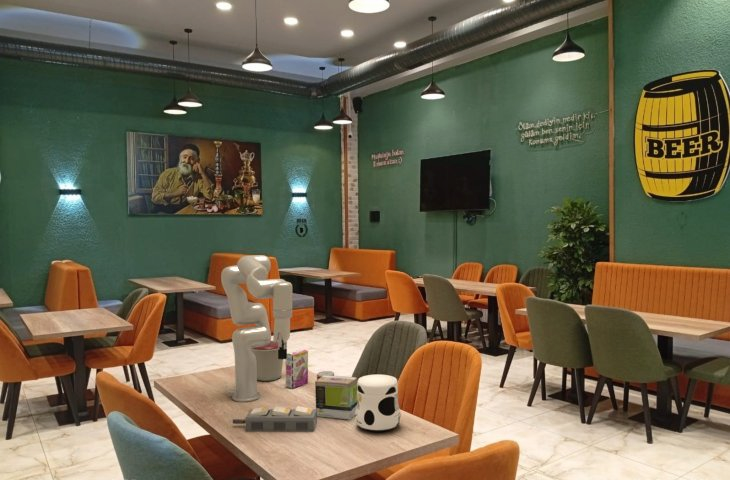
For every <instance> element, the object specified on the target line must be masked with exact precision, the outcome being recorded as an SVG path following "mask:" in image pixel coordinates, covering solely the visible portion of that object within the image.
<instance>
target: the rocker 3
mask: <svg viewBox="0 0 730 480" xmlns="http://www.w3.org/2000/svg"><path fill="white" fill-rule="evenodd" d="M295 409H296V410H295V415H299V416H310V415H311V413H312V410H313V409H314V408H309V407H305V406H301V405H297V407H296V408H295Z"/></svg>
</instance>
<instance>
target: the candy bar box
mask: <svg viewBox="0 0 730 480" xmlns="http://www.w3.org/2000/svg"><path fill="white" fill-rule="evenodd" d="M307 384H309V351H308V350H306V349H297V350H294V351H289V352H287V358H286V359H285V388H288V389H290V390H293V389H296V388H299V387H302V386H305V385H307Z"/></svg>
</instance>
